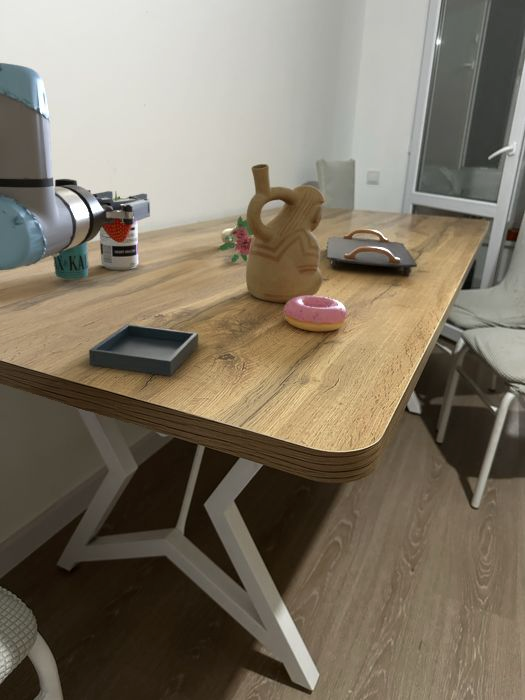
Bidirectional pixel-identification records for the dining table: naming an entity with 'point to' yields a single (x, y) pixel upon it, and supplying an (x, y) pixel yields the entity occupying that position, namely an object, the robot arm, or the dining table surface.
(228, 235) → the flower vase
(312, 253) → the ceramic vessel
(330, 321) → the doughnut
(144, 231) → the dining table surface
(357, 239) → the serving tray
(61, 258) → the beverage bottle
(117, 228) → the fruit
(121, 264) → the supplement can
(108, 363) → the dark gray square tray
